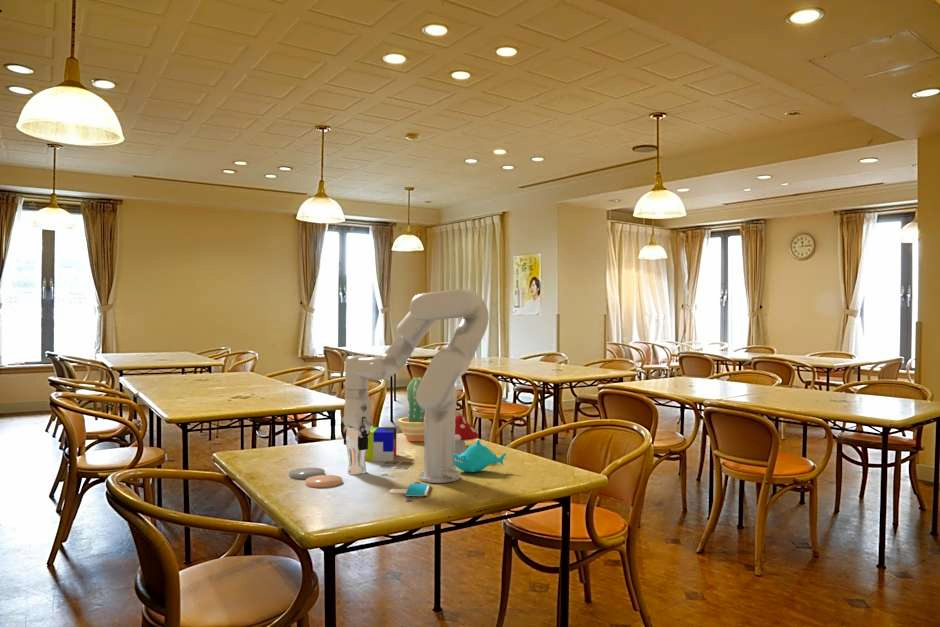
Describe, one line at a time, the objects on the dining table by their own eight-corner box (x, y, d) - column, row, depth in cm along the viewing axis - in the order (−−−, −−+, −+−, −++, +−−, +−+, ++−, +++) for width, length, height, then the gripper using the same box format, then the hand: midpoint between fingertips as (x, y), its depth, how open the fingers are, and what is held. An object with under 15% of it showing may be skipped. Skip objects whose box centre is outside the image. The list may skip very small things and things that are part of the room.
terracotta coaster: (348, 483, 200) (348, 480, 200) (314, 489, 193) (314, 486, 193) (332, 476, 209) (332, 473, 209) (299, 481, 202) (299, 478, 202)
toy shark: (451, 468, 220) (451, 436, 220) (505, 468, 220) (505, 436, 220) (450, 475, 210) (451, 442, 210) (507, 475, 211) (507, 442, 210)
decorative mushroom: (472, 462, 228) (472, 419, 228) (434, 460, 232) (434, 417, 232) (482, 453, 242) (482, 412, 242) (446, 451, 245) (446, 411, 245)
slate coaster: (330, 475, 209) (330, 472, 209) (297, 481, 203) (297, 478, 203) (315, 468, 218) (315, 465, 218) (283, 474, 211) (283, 470, 211)
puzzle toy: (392, 461, 230) (392, 432, 230) (363, 460, 230) (363, 432, 230) (396, 454, 240) (396, 427, 240) (368, 454, 240) (368, 427, 240)
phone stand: (395, 483, 202) (395, 478, 202) (434, 484, 202) (434, 479, 202) (384, 503, 182) (384, 497, 182) (427, 504, 182) (427, 498, 182)
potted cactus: (430, 444, 258) (430, 380, 258) (392, 442, 261) (392, 379, 261) (439, 436, 273) (440, 376, 273) (403, 435, 276) (404, 375, 276)
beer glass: (370, 470, 217) (370, 424, 216) (364, 475, 210) (364, 428, 210) (349, 469, 217) (349, 424, 217) (343, 475, 210) (343, 427, 210)
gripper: (380, 396, 209) (379, 450, 209) (354, 390, 222) (353, 440, 223) (359, 398, 204) (358, 453, 204) (333, 391, 218) (332, 443, 218)
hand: (355, 446), depth 214 cm, fingers open, 9 cm apart
